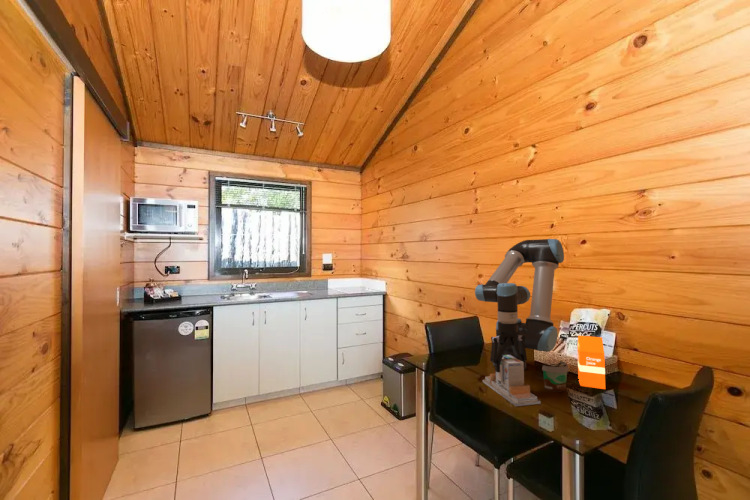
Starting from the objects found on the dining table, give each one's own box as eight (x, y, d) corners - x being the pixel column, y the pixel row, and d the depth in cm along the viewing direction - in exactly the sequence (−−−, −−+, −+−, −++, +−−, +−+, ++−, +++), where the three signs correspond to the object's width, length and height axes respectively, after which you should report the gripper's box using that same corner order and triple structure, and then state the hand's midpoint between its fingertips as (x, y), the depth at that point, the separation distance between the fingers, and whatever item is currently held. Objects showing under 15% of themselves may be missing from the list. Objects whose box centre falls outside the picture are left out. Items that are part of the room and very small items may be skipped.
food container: (556, 395, 129) (556, 369, 129) (542, 389, 134) (541, 365, 134) (576, 389, 134) (575, 364, 135) (561, 384, 140) (560, 360, 140)
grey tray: (503, 380, 145) (503, 368, 145) (540, 403, 121) (540, 390, 122) (482, 382, 143) (482, 370, 143) (516, 406, 120) (515, 392, 120)
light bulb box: (495, 381, 137) (494, 355, 138) (510, 380, 138) (509, 354, 139) (508, 391, 127) (508, 362, 127) (525, 390, 128) (524, 361, 128)
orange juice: (578, 379, 145) (576, 333, 145) (602, 382, 141) (600, 335, 141) (580, 385, 138) (578, 337, 138) (605, 389, 134) (604, 339, 134)
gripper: (489, 325, 127) (490, 385, 127) (536, 322, 131) (537, 380, 131) (479, 321, 135) (481, 378, 134) (524, 318, 138) (525, 374, 138)
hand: (509, 379), depth 132 cm, fingers open, 7 cm apart
